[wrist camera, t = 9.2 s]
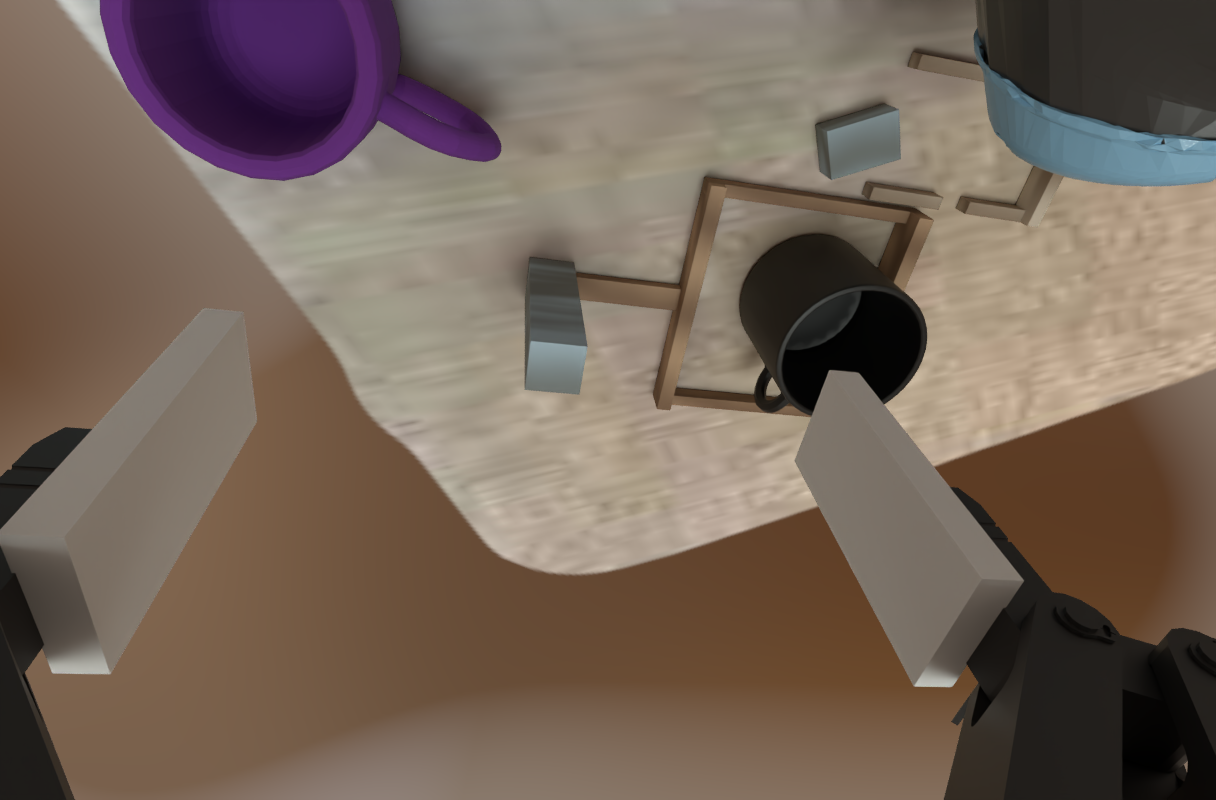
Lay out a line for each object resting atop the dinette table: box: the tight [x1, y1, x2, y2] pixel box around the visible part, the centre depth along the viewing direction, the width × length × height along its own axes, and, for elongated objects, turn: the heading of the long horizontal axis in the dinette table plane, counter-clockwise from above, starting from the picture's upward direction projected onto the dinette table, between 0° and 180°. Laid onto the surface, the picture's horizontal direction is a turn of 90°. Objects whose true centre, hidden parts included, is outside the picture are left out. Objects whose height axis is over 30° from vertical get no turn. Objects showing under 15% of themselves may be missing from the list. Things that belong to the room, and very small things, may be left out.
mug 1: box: [100, 0, 501, 181], centre depth 35 cm, size 17×11×10 cm, turn 61°
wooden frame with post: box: [525, 177, 934, 417], centre depth 44 cm, size 17×26×12 cm, turn 80°
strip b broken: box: [815, 52, 1064, 227], centre depth 44 cm, size 9×17×2 cm, turn 80°
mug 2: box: [740, 235, 927, 416], centre depth 46 cm, size 9×12×9 cm
